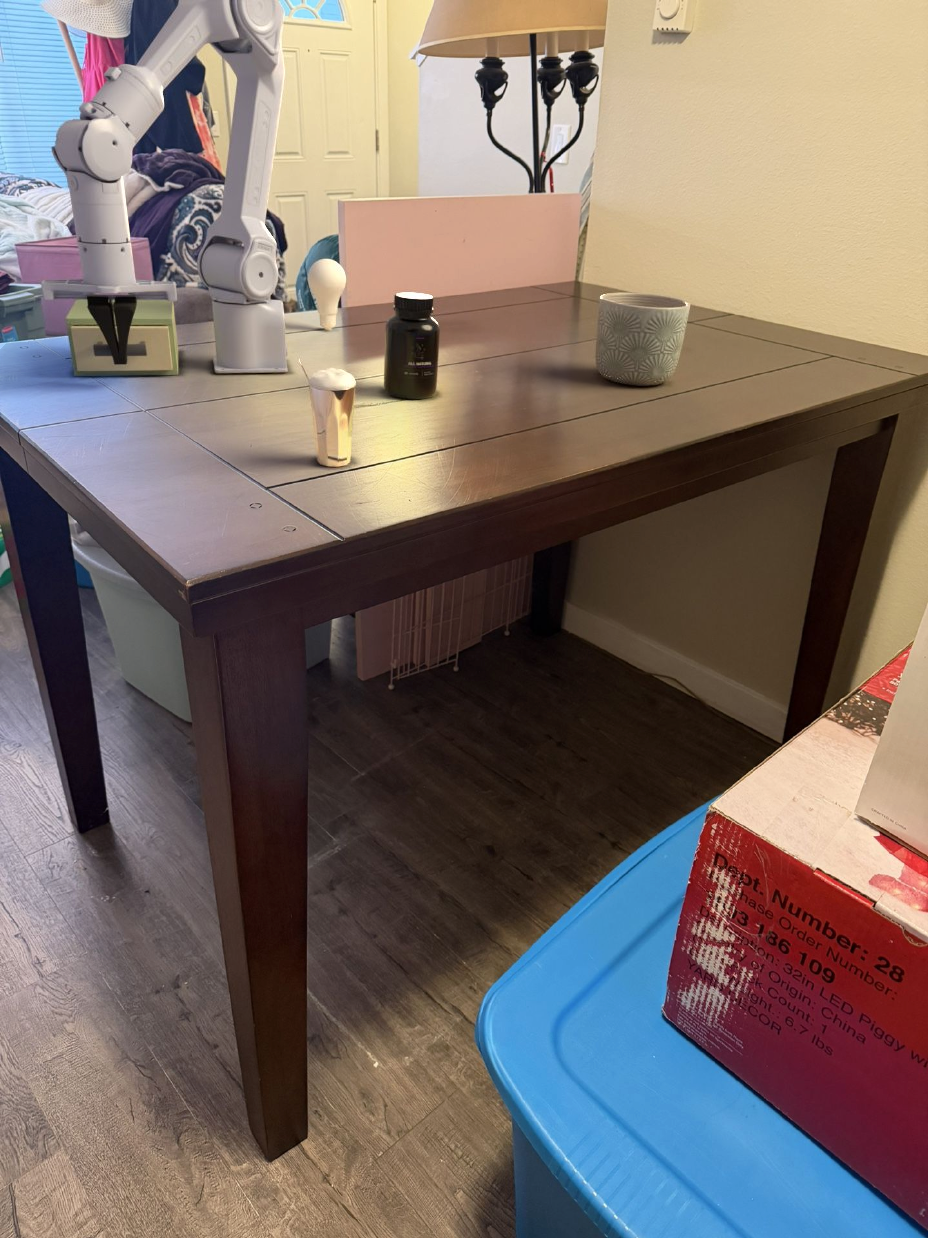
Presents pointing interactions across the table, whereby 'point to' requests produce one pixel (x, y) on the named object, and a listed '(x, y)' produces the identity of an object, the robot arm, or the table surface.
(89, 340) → the drawer
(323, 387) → the milkshake
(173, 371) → the cabinet
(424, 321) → the supplement bottle
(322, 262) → the lightbulb
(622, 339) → the planter
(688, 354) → the table surface
